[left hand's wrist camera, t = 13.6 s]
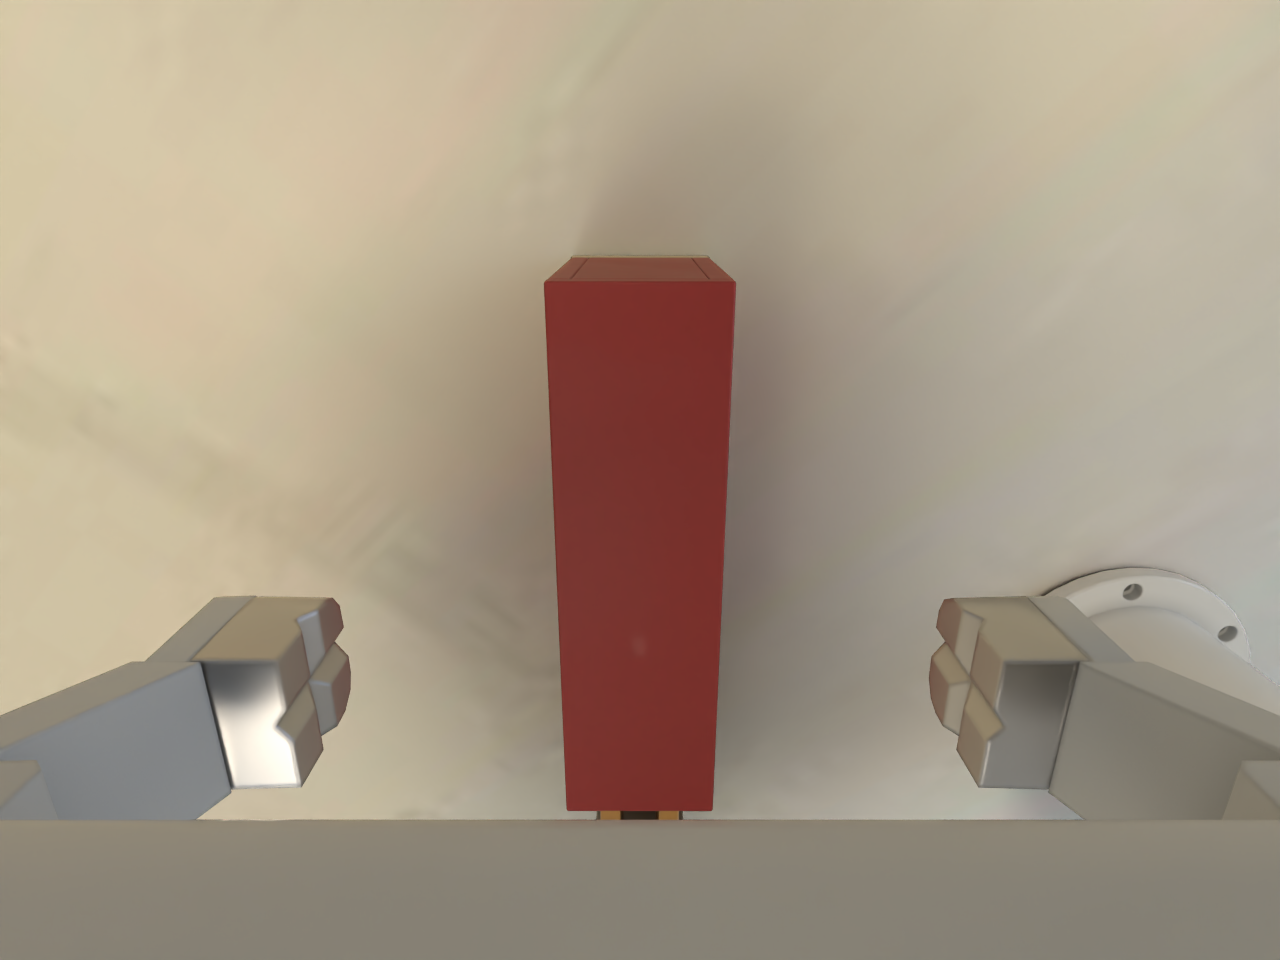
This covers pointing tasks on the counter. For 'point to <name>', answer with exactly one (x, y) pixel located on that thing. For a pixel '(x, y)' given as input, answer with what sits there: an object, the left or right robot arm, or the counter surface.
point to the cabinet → (639, 522)
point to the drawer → (639, 815)
